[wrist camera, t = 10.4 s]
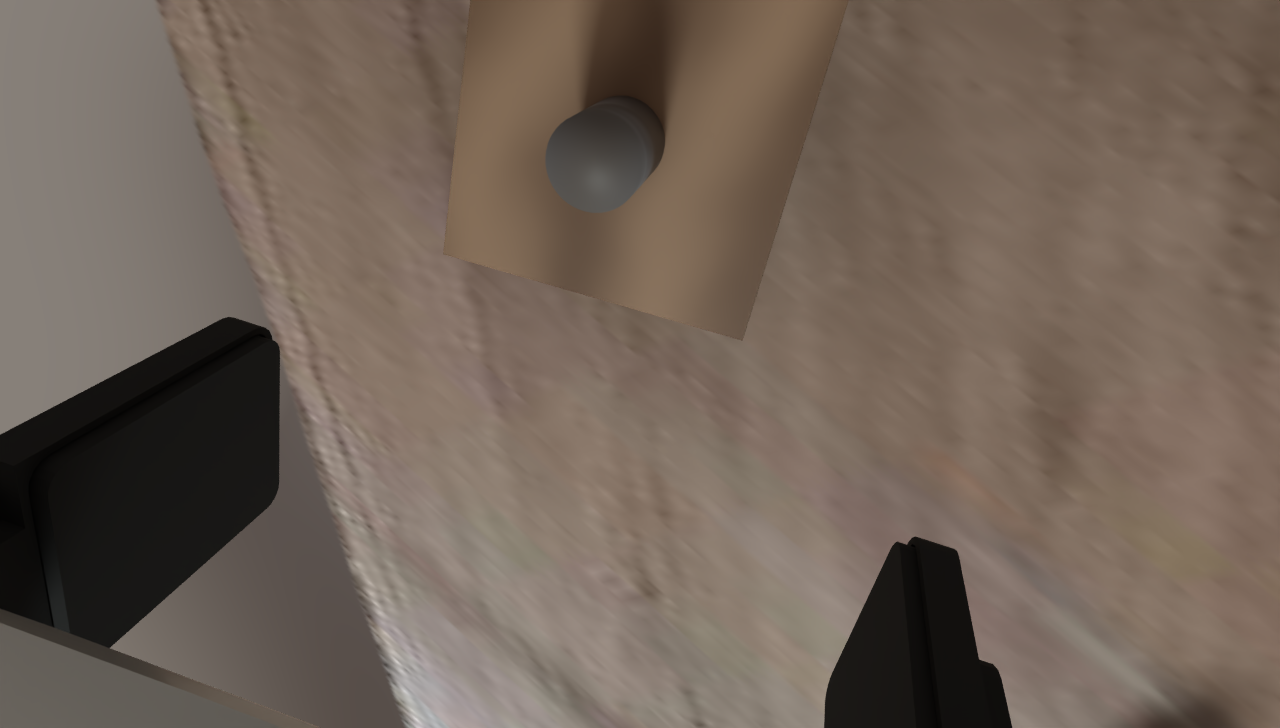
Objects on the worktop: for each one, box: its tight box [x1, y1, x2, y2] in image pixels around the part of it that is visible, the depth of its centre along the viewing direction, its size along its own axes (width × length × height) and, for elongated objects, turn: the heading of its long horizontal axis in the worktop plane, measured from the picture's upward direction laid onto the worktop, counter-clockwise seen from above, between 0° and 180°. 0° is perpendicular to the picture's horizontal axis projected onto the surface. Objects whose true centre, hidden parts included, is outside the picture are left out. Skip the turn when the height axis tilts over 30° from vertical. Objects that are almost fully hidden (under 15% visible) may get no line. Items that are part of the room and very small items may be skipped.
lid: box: [443, 0, 849, 341], centre depth 26 cm, size 12×12×5 cm
